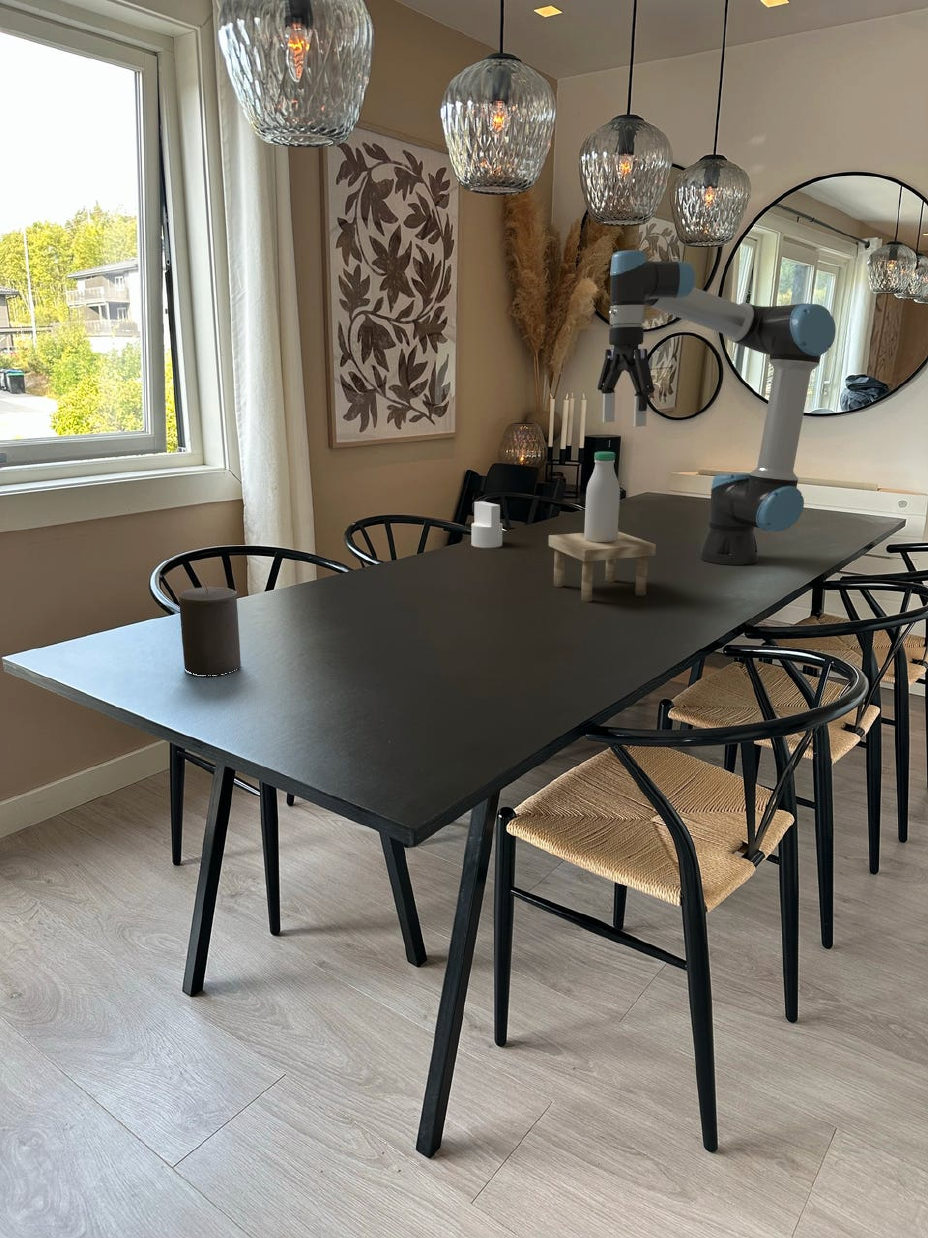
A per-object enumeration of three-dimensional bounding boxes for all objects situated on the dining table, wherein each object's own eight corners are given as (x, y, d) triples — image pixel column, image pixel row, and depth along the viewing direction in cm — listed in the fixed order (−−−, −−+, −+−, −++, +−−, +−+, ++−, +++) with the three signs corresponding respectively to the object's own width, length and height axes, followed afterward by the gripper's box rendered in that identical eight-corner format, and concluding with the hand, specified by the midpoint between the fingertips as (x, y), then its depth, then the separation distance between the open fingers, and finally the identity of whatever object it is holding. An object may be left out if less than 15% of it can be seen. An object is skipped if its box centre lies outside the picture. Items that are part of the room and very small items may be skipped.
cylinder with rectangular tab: (508, 545, 258) (509, 504, 254) (483, 549, 253) (483, 507, 250) (490, 540, 265) (490, 500, 262) (465, 543, 260) (465, 502, 257)
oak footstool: (613, 578, 220) (615, 530, 216) (652, 595, 204) (655, 544, 200) (547, 584, 214) (548, 535, 210) (582, 603, 198) (584, 550, 194)
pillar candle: (188, 680, 151) (181, 595, 146) (181, 662, 159) (174, 581, 155) (246, 673, 154) (241, 590, 150) (236, 656, 163) (231, 577, 159)
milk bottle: (617, 543, 201) (621, 454, 195) (582, 542, 202) (586, 453, 197) (618, 537, 208) (623, 450, 202) (585, 535, 210) (588, 450, 204)
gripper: (584, 327, 206) (582, 421, 212) (642, 324, 184) (639, 428, 190) (612, 327, 209) (610, 419, 215) (673, 324, 186) (668, 427, 193)
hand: (623, 424), depth 203 cm, fingers open, 13 cm apart
